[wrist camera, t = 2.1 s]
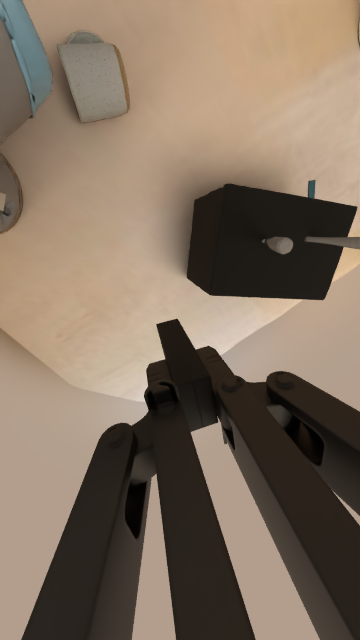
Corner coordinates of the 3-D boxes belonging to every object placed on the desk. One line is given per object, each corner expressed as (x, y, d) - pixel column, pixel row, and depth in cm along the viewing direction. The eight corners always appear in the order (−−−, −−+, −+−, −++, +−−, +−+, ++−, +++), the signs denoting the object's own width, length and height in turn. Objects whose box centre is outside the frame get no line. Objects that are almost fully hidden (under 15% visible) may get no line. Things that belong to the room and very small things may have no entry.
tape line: (304, 270, 55) (304, 270, 55) (308, 181, 47) (309, 181, 47) (309, 269, 55) (309, 269, 55) (314, 180, 47) (315, 180, 47)
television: (274, 310, 53) (271, 231, 54) (456, 277, 23) (437, 108, 25) (184, 307, 47) (184, 218, 49) (276, 257, 18) (268, 43, 20)
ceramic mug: (132, 122, 36) (132, 94, 29) (84, 132, 35) (73, 106, 28) (109, 35, 32) (103, -22, 25) (55, 44, 31) (33, -12, 24)
